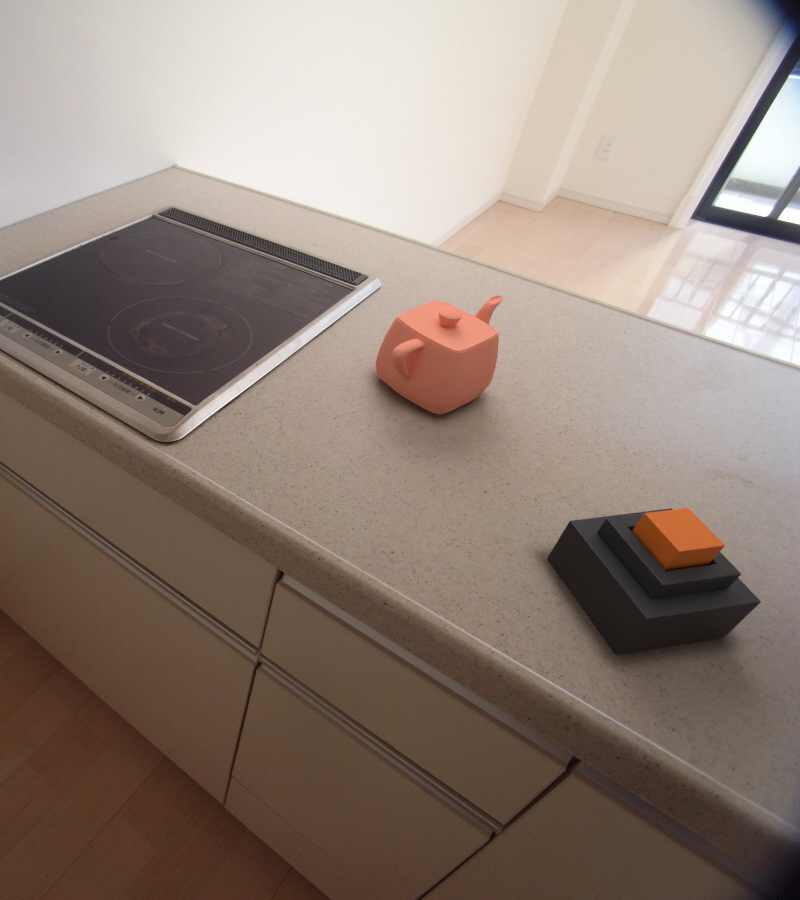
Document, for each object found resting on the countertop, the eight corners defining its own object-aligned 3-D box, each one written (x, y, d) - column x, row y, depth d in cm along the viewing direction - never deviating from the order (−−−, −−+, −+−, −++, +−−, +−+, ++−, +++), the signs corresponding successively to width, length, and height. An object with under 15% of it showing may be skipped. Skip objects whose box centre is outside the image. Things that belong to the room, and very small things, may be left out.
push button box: (724, 638, 53) (776, 587, 49) (615, 655, 52) (659, 605, 47) (643, 545, 61) (682, 493, 56) (546, 558, 59) (578, 506, 55)
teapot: (346, 385, 79) (362, 309, 72) (442, 341, 87) (465, 269, 80) (418, 436, 72) (444, 358, 65) (516, 384, 80) (548, 309, 73)
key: (709, 564, 51) (726, 545, 49) (664, 570, 50) (679, 551, 49) (673, 526, 54) (688, 507, 52) (630, 532, 53) (644, 512, 52)
